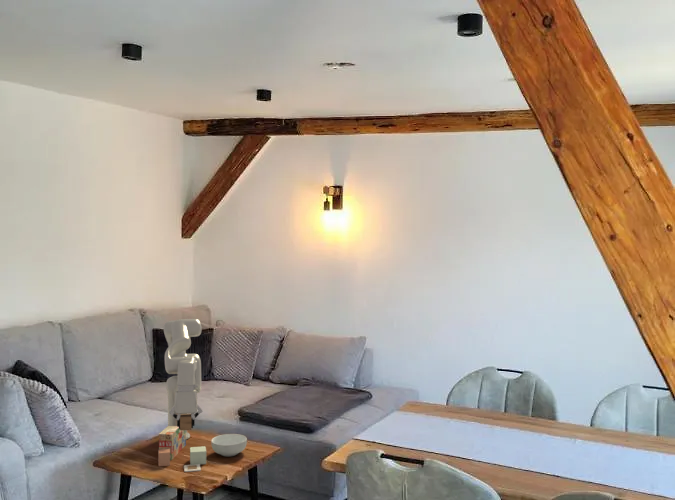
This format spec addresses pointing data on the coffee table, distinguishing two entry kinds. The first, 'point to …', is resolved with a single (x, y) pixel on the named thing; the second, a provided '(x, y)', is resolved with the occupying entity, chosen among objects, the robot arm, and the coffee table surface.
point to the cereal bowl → (229, 444)
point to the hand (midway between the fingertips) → (185, 427)
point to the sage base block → (197, 455)
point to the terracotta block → (164, 457)
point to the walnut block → (185, 422)
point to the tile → (192, 468)
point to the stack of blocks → (172, 440)
